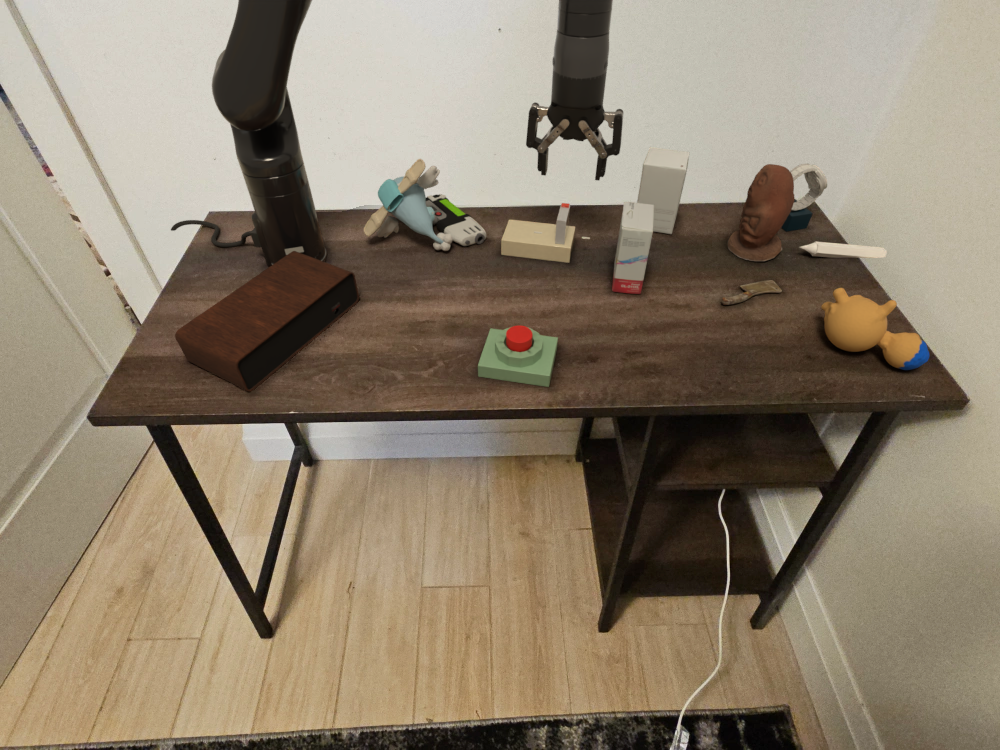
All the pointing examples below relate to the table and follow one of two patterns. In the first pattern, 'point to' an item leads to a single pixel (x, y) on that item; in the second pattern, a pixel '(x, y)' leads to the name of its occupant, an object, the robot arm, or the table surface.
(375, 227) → the toy figure
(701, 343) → the table surface
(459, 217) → the toy gun
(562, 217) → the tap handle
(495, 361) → the button box
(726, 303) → the meat cleaver
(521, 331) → the stop button
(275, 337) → the alarm clock
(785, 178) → the figurine
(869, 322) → the toy
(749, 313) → the table surface
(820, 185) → the watch
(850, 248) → the white pointed rod
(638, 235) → the ink box
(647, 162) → the white packaging box
